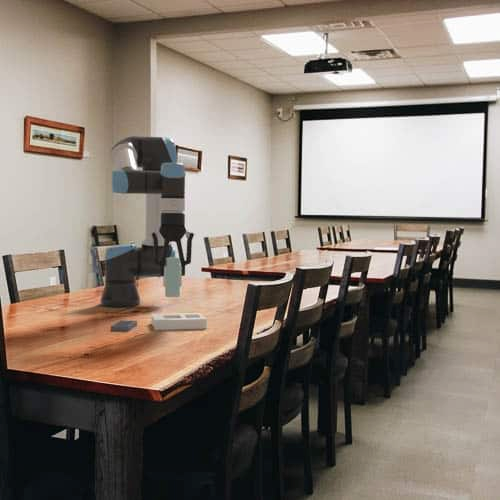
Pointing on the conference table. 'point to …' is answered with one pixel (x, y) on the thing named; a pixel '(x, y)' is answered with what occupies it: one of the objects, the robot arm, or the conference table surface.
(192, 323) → the outlet board
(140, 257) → the robot arm
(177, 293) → the pale green block
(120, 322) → the phone
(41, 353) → the conference table surface
